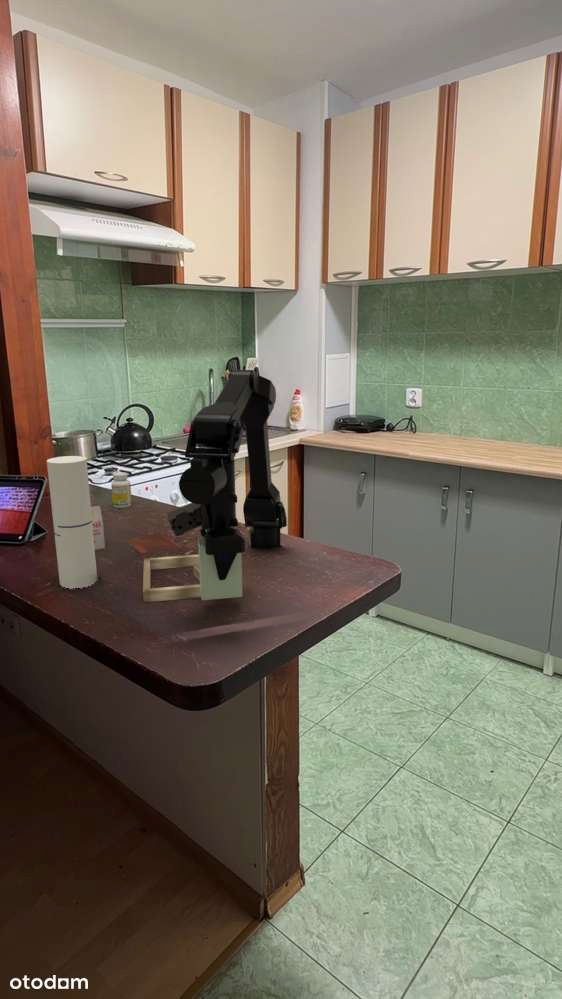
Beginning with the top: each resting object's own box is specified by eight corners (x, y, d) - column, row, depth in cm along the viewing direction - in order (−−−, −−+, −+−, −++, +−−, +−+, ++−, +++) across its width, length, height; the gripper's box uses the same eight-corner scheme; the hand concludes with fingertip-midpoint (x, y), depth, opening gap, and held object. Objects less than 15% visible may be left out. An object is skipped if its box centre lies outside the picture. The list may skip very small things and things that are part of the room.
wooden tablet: (203, 568, 130) (203, 561, 129) (158, 577, 125) (157, 569, 125) (165, 534, 152) (164, 528, 152) (125, 540, 148) (124, 534, 147)
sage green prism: (239, 588, 108) (238, 535, 105) (242, 596, 105) (241, 542, 102) (200, 592, 107) (197, 538, 104) (201, 600, 103) (199, 545, 101)
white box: (72, 549, 140) (67, 507, 138) (101, 544, 143) (98, 504, 141) (74, 554, 137) (70, 511, 134) (105, 549, 140) (101, 507, 137)
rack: (222, 568, 128) (221, 541, 126) (232, 601, 112) (231, 571, 110) (145, 574, 125) (143, 547, 123) (144, 609, 109) (141, 578, 107)
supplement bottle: (123, 509, 173) (120, 476, 170) (109, 507, 175) (106, 474, 173) (135, 504, 177) (133, 472, 175) (121, 502, 180) (119, 471, 177)
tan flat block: (217, 571, 123) (216, 562, 122) (228, 581, 117) (227, 571, 117) (193, 575, 121) (193, 566, 120) (203, 586, 115) (203, 576, 115)
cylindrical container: (84, 590, 117) (72, 464, 110) (52, 586, 119) (38, 462, 112) (104, 577, 124) (93, 456, 117) (73, 573, 125) (61, 455, 119)
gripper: (167, 478, 108) (172, 560, 112) (170, 505, 90) (175, 602, 94) (229, 475, 110) (231, 555, 114) (244, 501, 92) (246, 595, 96)
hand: (220, 575), depth 105 cm, fingers closed on sage green prism, 3 cm apart
